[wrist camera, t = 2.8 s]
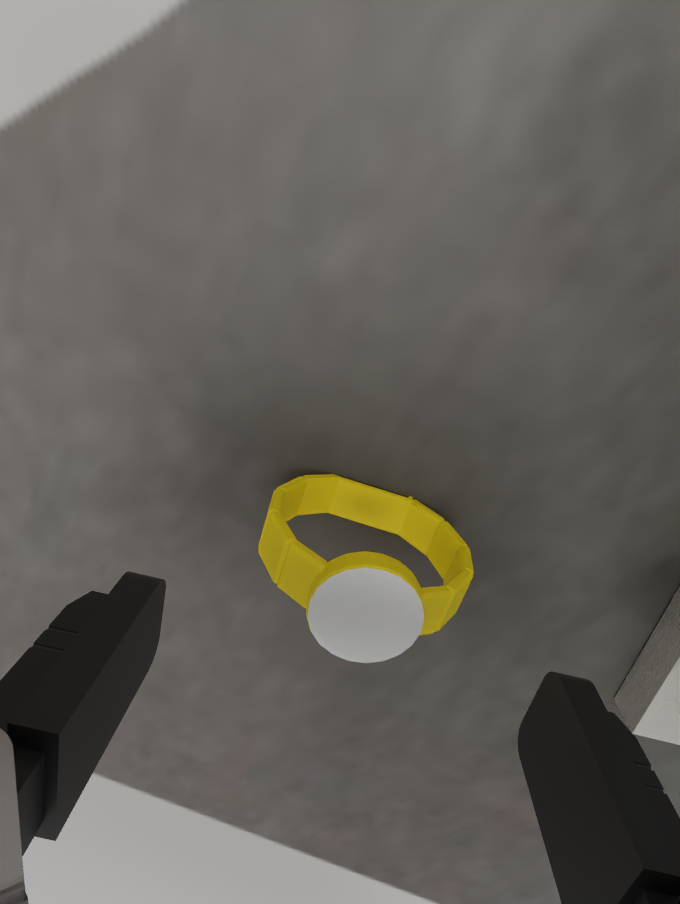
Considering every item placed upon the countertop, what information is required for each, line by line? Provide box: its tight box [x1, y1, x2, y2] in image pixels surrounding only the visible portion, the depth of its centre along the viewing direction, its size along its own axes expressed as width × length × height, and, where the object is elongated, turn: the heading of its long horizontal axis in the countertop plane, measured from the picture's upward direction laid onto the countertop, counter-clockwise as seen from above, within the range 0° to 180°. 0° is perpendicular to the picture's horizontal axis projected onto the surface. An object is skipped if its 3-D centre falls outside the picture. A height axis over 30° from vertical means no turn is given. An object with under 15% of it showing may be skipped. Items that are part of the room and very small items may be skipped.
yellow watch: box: [258, 474, 474, 663], centre depth 15 cm, size 6×3×6 cm, turn 73°
